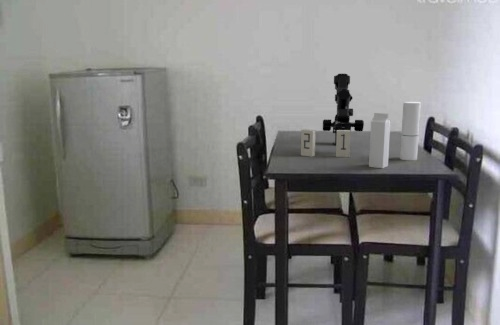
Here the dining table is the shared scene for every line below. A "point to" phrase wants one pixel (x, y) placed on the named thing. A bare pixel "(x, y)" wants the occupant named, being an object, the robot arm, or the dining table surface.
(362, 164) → the dining table surface
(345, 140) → the tile one
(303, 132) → the tile two
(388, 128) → the milk
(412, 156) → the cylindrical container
